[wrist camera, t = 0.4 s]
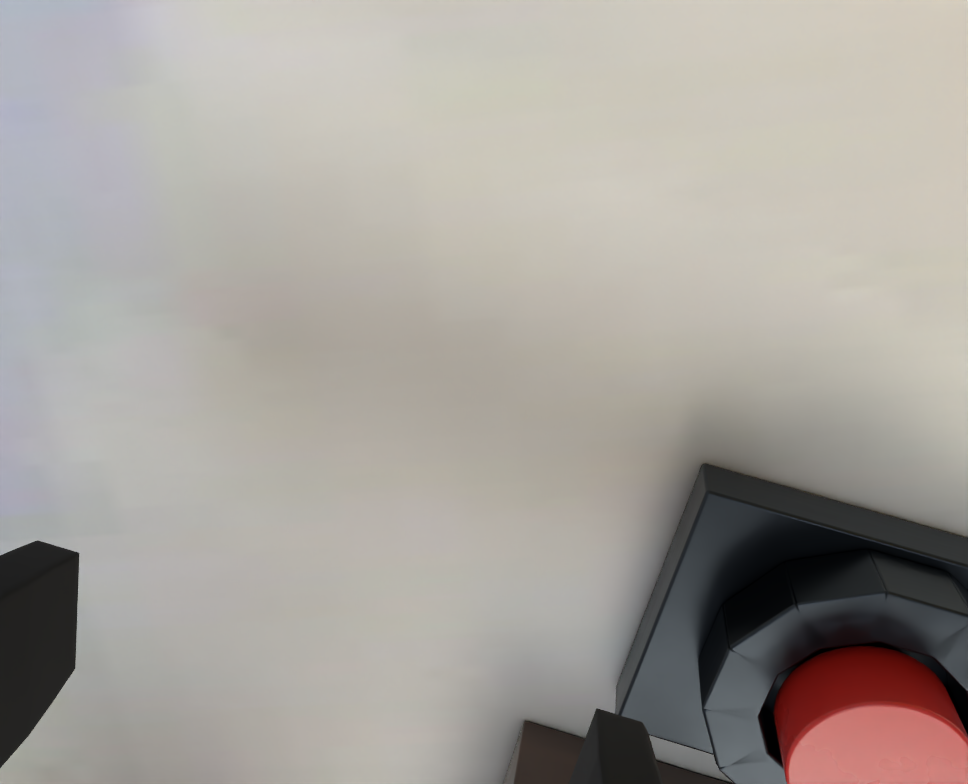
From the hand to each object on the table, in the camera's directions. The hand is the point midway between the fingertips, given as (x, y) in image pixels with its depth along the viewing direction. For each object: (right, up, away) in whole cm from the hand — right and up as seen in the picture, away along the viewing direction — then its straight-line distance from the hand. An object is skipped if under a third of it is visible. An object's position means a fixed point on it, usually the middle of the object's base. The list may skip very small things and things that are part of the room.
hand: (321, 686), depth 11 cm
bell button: (+10, -3, +7) cm, 13 cm away
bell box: (+11, -2, +10) cm, 14 cm away
